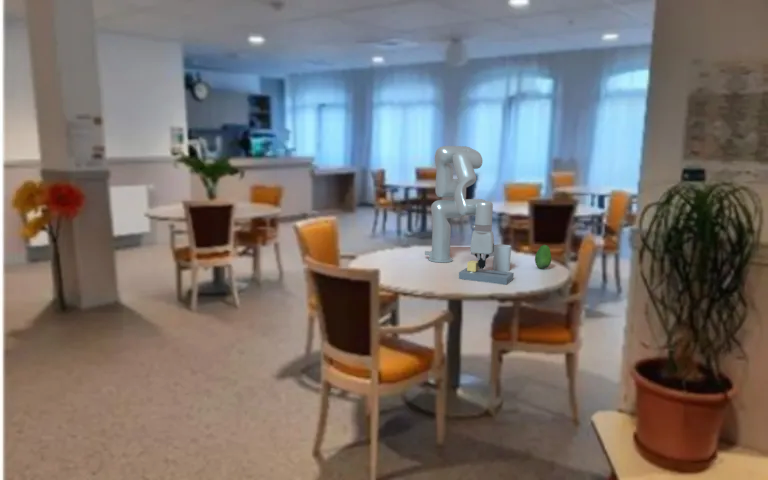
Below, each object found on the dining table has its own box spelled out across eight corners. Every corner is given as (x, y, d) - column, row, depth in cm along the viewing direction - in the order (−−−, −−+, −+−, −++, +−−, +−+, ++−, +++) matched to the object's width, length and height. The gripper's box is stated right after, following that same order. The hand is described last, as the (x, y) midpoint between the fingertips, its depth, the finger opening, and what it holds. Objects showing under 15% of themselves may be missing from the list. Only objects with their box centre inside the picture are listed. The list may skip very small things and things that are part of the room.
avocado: (554, 269, 287) (555, 245, 285) (542, 271, 284) (543, 246, 282) (542, 266, 294) (543, 243, 292) (530, 267, 291) (532, 244, 288)
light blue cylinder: (510, 269, 287) (512, 245, 285) (508, 272, 279) (509, 247, 277) (494, 267, 289) (495, 243, 287) (491, 271, 282) (492, 246, 280)
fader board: (458, 278, 265) (459, 272, 264) (467, 273, 275) (467, 267, 275) (506, 284, 255) (506, 277, 254) (513, 279, 266) (513, 272, 265)
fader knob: (467, 270, 266) (467, 262, 265) (470, 268, 270) (470, 260, 270) (475, 271, 264) (475, 263, 264) (478, 269, 269) (479, 261, 268)
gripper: (464, 228, 262) (463, 268, 265) (497, 230, 256) (495, 271, 259) (469, 226, 269) (468, 265, 272) (501, 228, 262) (499, 268, 265)
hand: (481, 268), depth 265 cm, fingers closed
